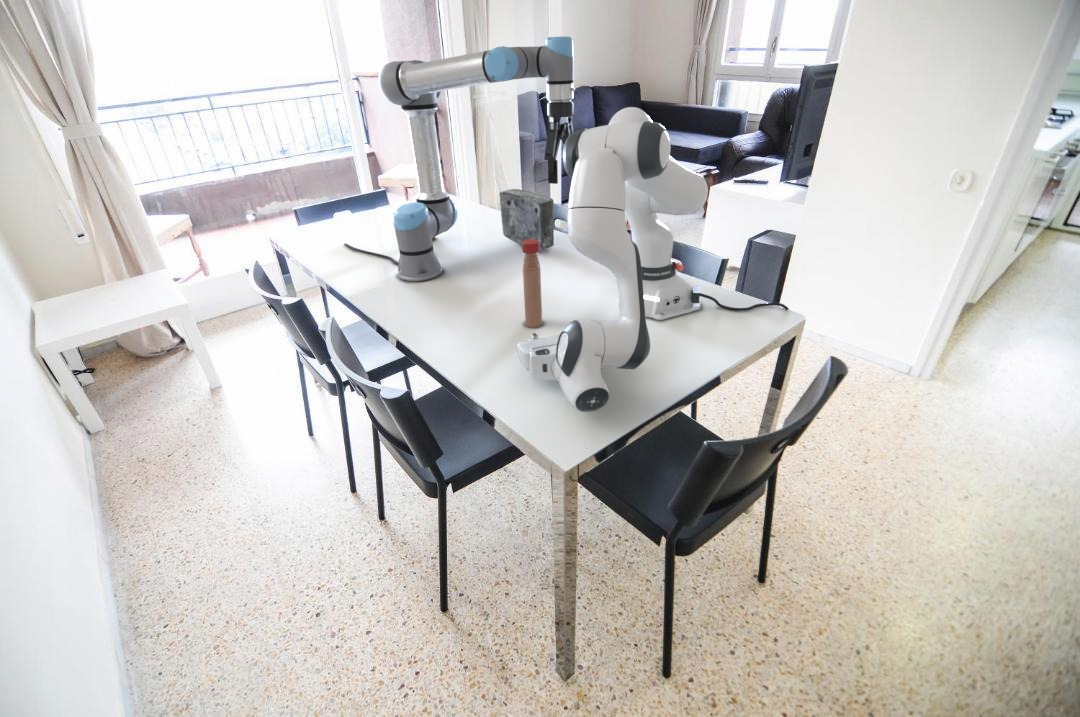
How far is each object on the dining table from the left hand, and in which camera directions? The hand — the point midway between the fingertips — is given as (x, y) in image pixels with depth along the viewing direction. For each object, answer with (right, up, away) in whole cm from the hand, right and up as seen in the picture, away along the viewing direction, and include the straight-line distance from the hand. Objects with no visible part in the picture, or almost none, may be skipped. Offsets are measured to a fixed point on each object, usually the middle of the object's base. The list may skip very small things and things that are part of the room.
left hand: (561, 178), depth 153 cm
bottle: (-8, -46, -12) cm, 48 cm away
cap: (-9, -27, -23) cm, 37 cm away
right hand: (-4, -49, -30) cm, 57 cm away
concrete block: (-11, -11, +44) cm, 47 cm away
